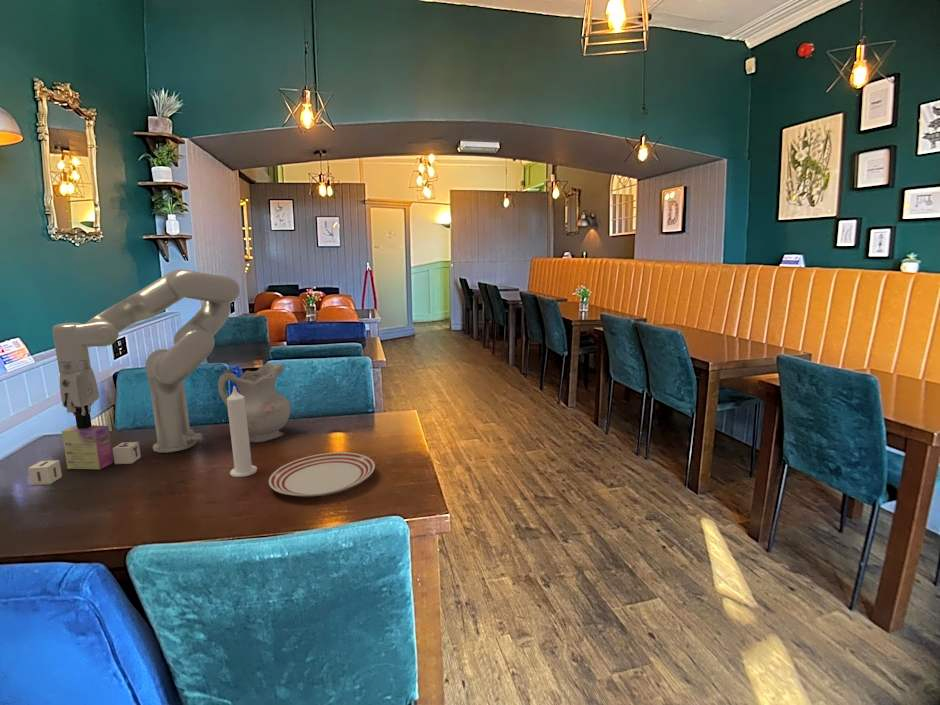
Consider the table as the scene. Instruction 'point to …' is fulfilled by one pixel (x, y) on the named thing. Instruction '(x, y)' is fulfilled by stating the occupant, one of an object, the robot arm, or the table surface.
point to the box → (87, 447)
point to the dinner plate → (322, 474)
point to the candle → (239, 436)
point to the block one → (45, 472)
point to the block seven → (126, 453)
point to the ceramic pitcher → (260, 401)
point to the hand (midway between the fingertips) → (84, 427)
